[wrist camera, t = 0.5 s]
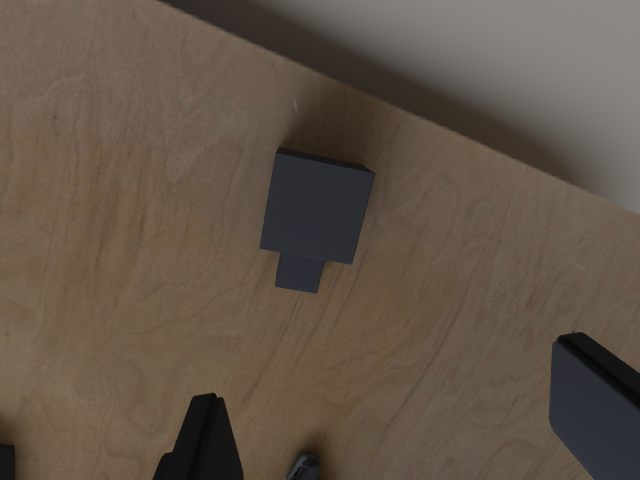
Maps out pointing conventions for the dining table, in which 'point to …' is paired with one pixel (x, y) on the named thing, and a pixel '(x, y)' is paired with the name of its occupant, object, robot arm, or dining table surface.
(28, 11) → the dining table surface
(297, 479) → the knife
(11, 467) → the base pad
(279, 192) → the pad
